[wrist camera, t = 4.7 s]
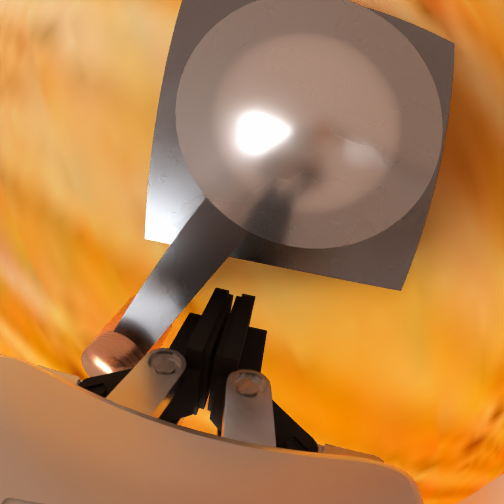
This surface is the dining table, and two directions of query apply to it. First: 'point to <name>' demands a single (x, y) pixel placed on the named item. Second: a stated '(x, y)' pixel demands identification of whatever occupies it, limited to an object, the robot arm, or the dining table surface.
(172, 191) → the base
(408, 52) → the ball-ended lever handle
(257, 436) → the robot arm
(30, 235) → the dining table surface
